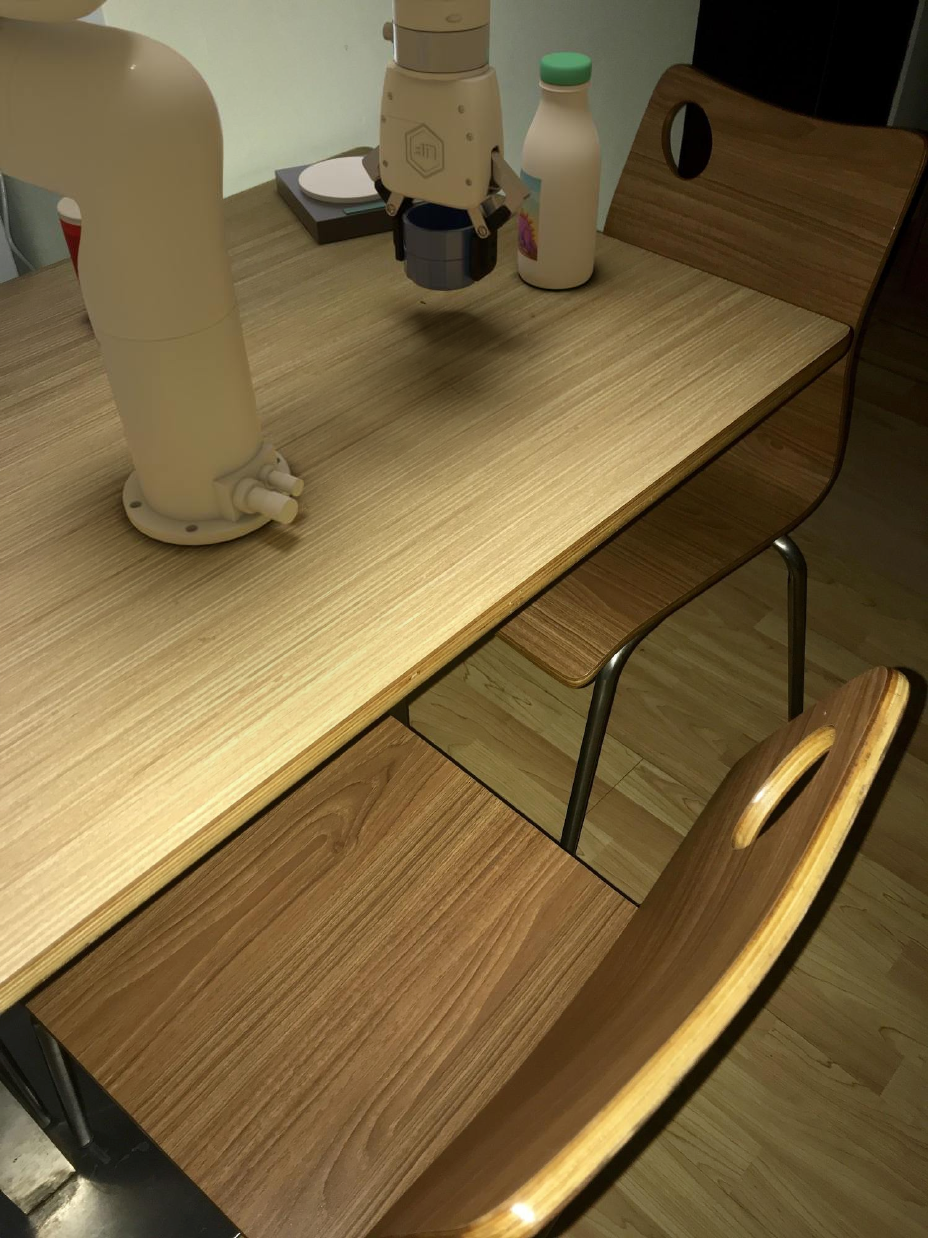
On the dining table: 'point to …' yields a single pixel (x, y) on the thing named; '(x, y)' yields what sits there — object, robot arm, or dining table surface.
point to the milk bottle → (560, 178)
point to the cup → (437, 246)
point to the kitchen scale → (335, 199)
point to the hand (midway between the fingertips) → (444, 264)
